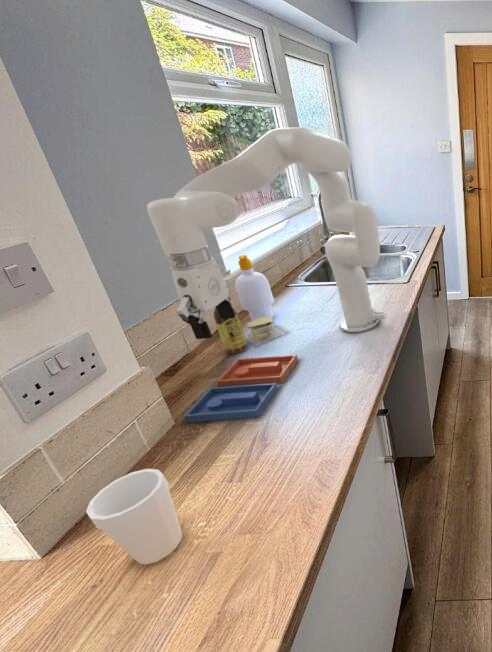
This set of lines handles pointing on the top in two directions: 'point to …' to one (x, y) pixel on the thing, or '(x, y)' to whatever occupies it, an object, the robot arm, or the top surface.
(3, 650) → the top surface
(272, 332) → the stacked layers on plate
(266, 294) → the soap bottle
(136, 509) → the foam cup
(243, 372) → the terracotta spoon
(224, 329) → the sauce bottle
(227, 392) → the blue tray
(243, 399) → the blue spoon
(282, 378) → the terracotta tray
